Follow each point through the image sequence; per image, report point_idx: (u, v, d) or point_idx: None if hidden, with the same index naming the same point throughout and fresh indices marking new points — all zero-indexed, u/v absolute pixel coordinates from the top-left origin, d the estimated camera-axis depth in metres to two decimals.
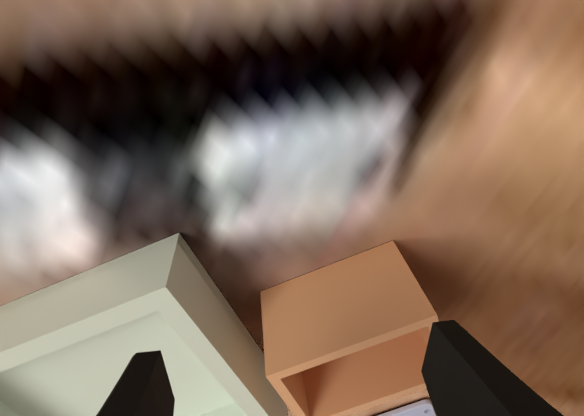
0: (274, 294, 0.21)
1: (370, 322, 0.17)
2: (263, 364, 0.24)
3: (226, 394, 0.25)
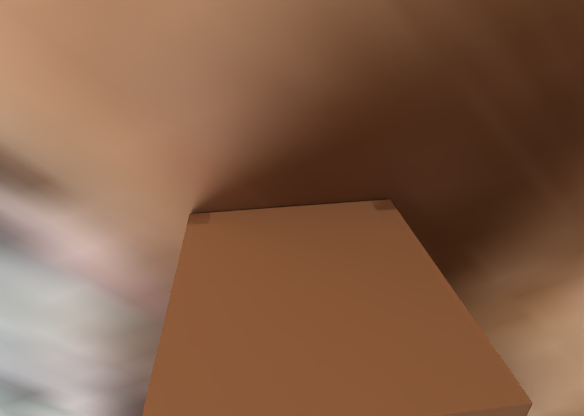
0: None
1: None
2: None
3: None
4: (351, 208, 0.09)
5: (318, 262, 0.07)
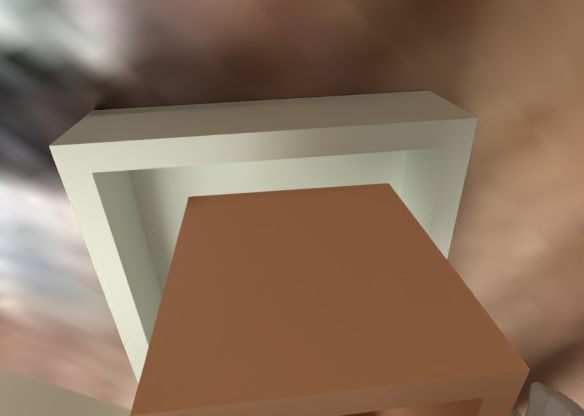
0: None
1: None
2: (350, 100, 0.15)
3: (381, 172, 0.17)
4: (350, 192, 0.09)
5: (317, 240, 0.07)
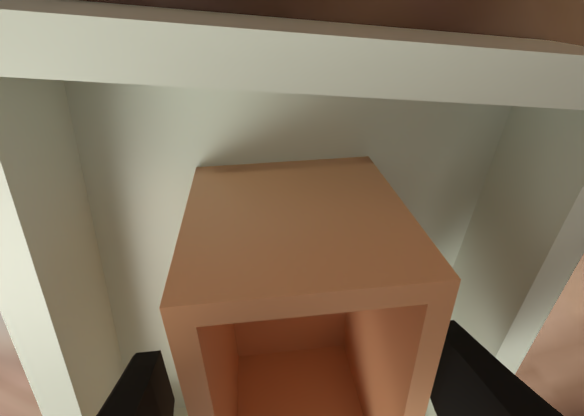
0: None
1: None
2: (442, 33, 0.10)
3: (460, 157, 0.12)
4: (335, 163, 0.11)
5: (304, 198, 0.09)
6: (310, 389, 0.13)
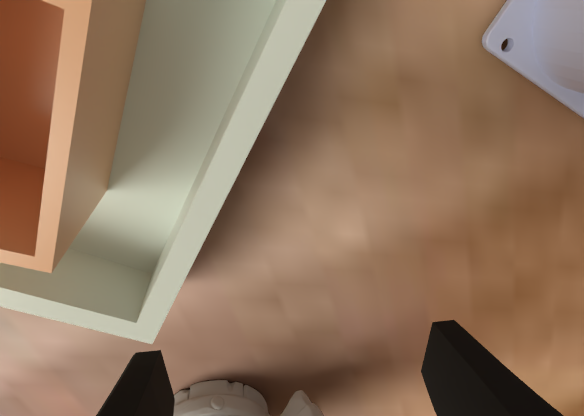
0: None
1: None
2: None
3: (227, 34, 0.14)
4: None
5: None
6: (31, 189, 0.14)
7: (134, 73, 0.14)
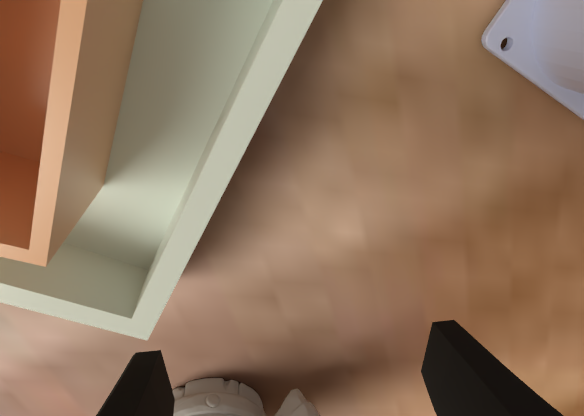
0: None
1: None
2: None
3: (226, 28, 0.14)
4: None
5: None
6: (26, 183, 0.14)
7: (131, 67, 0.14)
